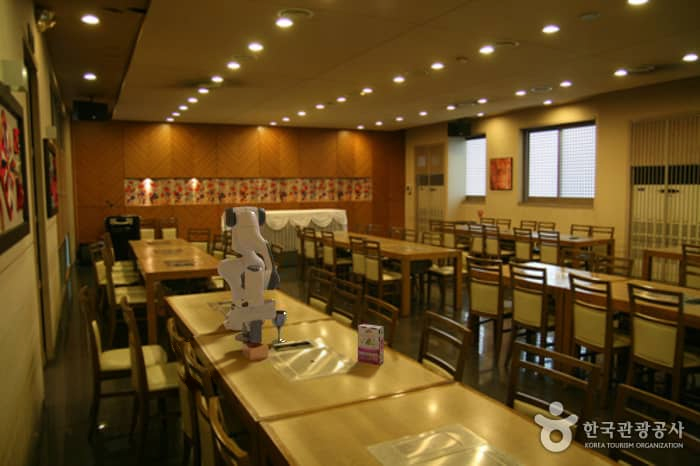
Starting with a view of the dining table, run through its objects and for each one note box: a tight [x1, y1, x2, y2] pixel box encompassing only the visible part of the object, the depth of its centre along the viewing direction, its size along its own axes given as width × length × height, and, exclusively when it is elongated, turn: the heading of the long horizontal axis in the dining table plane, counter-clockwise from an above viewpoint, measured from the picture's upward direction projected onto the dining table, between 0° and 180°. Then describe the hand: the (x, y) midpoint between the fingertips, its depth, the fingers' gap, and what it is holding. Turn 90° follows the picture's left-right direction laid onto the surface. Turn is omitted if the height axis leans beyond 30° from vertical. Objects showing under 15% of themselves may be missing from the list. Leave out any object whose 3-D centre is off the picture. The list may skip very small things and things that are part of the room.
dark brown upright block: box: [249, 320, 263, 343], centre depth 248 cm, size 6×4×10 cm, turn 31°
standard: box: [234, 323, 269, 361], centre depth 253 cm, size 21×12×20 cm, turn 31°
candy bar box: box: [357, 323, 385, 365], centre depth 242 cm, size 11×5×16 cm, turn 62°
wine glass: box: [270, 309, 288, 344], centre depth 272 cm, size 8×8×15 cm
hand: (255, 330), depth 249 cm, fingers closed on dark brown upright block, 4 cm apart
